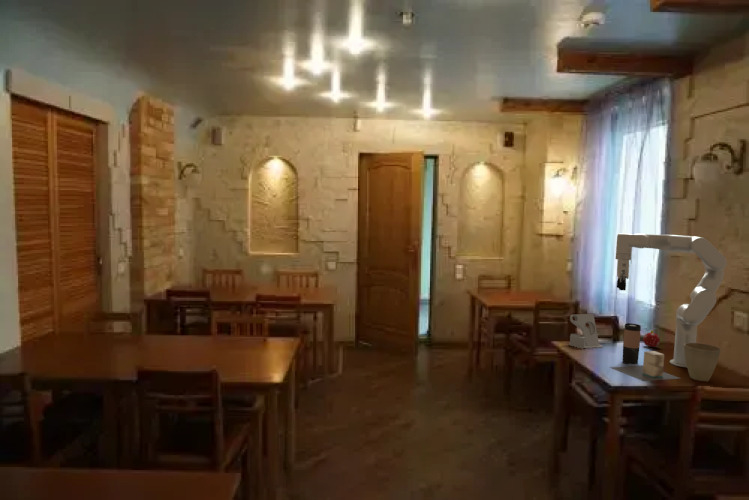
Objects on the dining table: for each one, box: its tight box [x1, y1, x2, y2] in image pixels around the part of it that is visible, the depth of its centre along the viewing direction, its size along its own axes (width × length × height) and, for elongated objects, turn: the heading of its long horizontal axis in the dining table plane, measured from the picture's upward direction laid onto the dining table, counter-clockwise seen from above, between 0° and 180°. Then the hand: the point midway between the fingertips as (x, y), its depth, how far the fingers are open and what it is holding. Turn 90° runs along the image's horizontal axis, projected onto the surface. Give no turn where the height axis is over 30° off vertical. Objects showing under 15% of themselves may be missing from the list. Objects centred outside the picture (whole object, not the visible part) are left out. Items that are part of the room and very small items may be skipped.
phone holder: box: [568, 313, 603, 349], centre depth 323 cm, size 17×10×18 cm, turn 111°
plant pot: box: [684, 342, 722, 382], centre depth 263 cm, size 15×15×16 cm
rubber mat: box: [609, 365, 681, 382], centre depth 270 cm, size 22×22×1 cm
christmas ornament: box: [642, 329, 661, 348], centre depth 327 cm, size 9×9×10 cm
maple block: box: [642, 350, 665, 378], centre depth 265 cm, size 6×6×11 cm
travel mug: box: [622, 322, 642, 365], centre depth 289 cm, size 8×8×20 cm
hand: (621, 289), depth 296 cm, fingers open, 9 cm apart
